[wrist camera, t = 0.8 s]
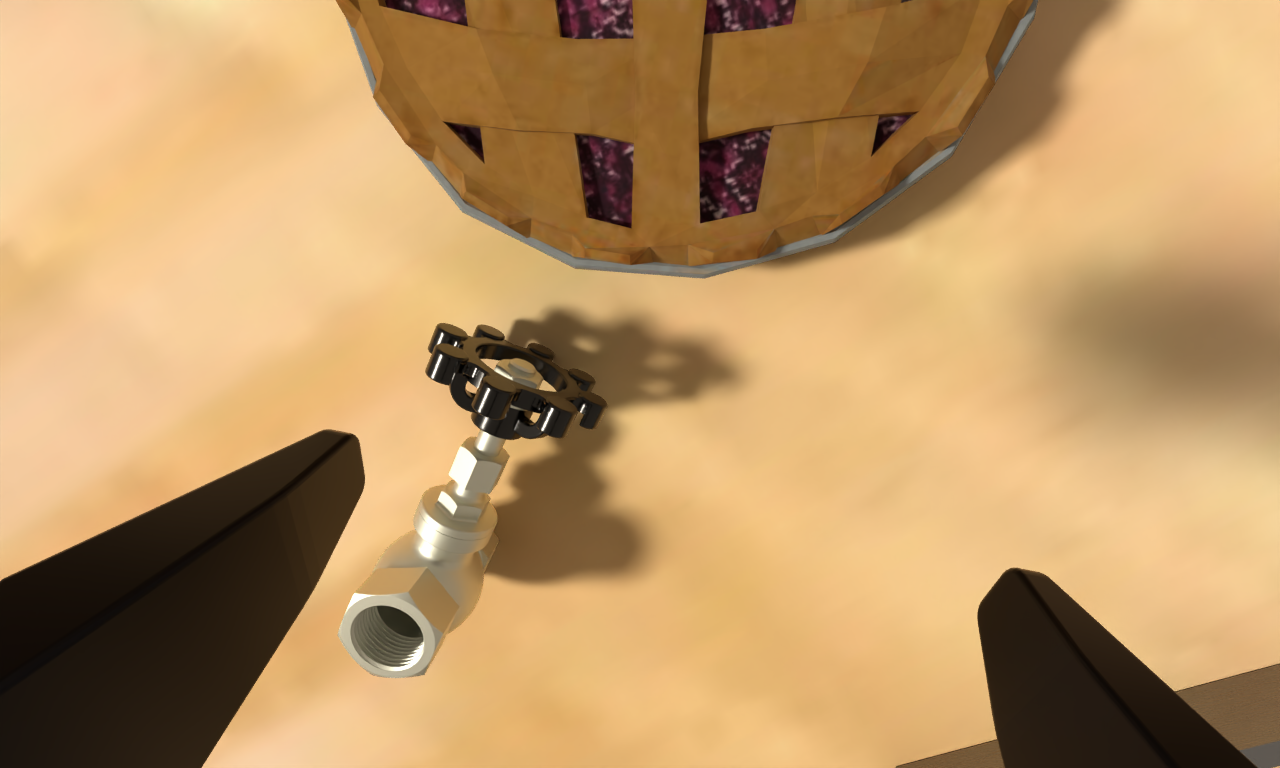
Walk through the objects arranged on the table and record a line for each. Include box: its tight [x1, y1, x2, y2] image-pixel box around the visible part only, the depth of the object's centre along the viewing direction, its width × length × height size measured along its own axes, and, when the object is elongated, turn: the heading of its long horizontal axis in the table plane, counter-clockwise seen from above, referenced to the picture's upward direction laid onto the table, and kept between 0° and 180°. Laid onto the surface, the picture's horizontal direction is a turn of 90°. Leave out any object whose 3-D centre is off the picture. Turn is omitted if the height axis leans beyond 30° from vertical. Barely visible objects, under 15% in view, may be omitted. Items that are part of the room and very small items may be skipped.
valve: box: [338, 323, 607, 678], centre depth 22 cm, size 7×7×12 cm
